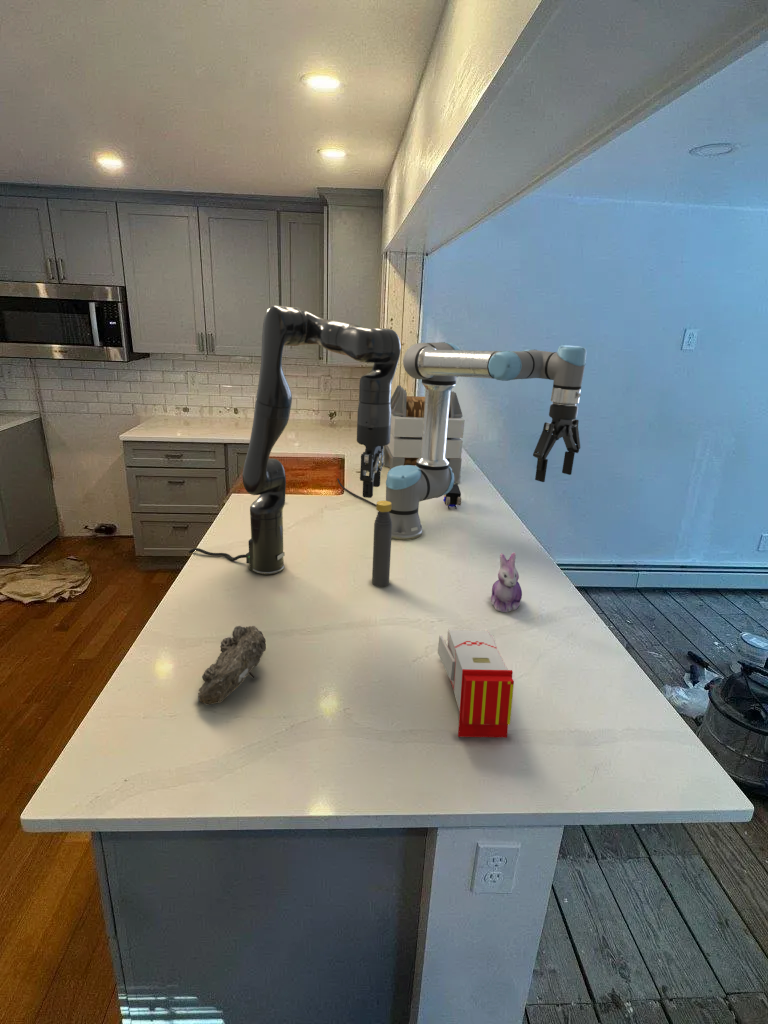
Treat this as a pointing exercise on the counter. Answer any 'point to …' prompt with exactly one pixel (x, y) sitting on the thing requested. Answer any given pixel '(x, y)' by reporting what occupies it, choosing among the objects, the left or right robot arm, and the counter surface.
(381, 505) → the cap
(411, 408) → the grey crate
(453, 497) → the figurine character
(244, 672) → the fossil
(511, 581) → the figurine
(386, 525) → the bottle
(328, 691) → the counter surface
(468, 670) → the toy
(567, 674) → the counter surface
